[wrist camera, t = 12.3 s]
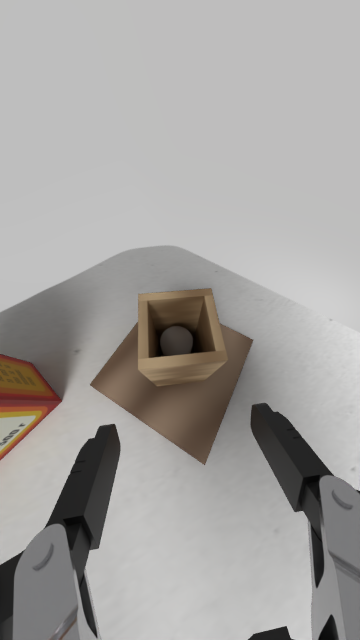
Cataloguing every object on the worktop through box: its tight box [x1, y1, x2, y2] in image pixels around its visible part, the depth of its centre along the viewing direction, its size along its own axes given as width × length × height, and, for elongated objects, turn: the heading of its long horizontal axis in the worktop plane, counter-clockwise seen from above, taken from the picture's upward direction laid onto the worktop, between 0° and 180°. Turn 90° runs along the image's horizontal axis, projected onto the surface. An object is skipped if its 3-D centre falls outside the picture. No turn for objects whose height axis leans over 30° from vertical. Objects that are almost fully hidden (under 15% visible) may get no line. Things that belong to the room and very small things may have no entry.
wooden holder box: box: [138, 288, 228, 386], centre depth 15 cm, size 5×5×10 cm
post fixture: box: [90, 322, 253, 465], centre depth 17 cm, size 14×14×8 cm
